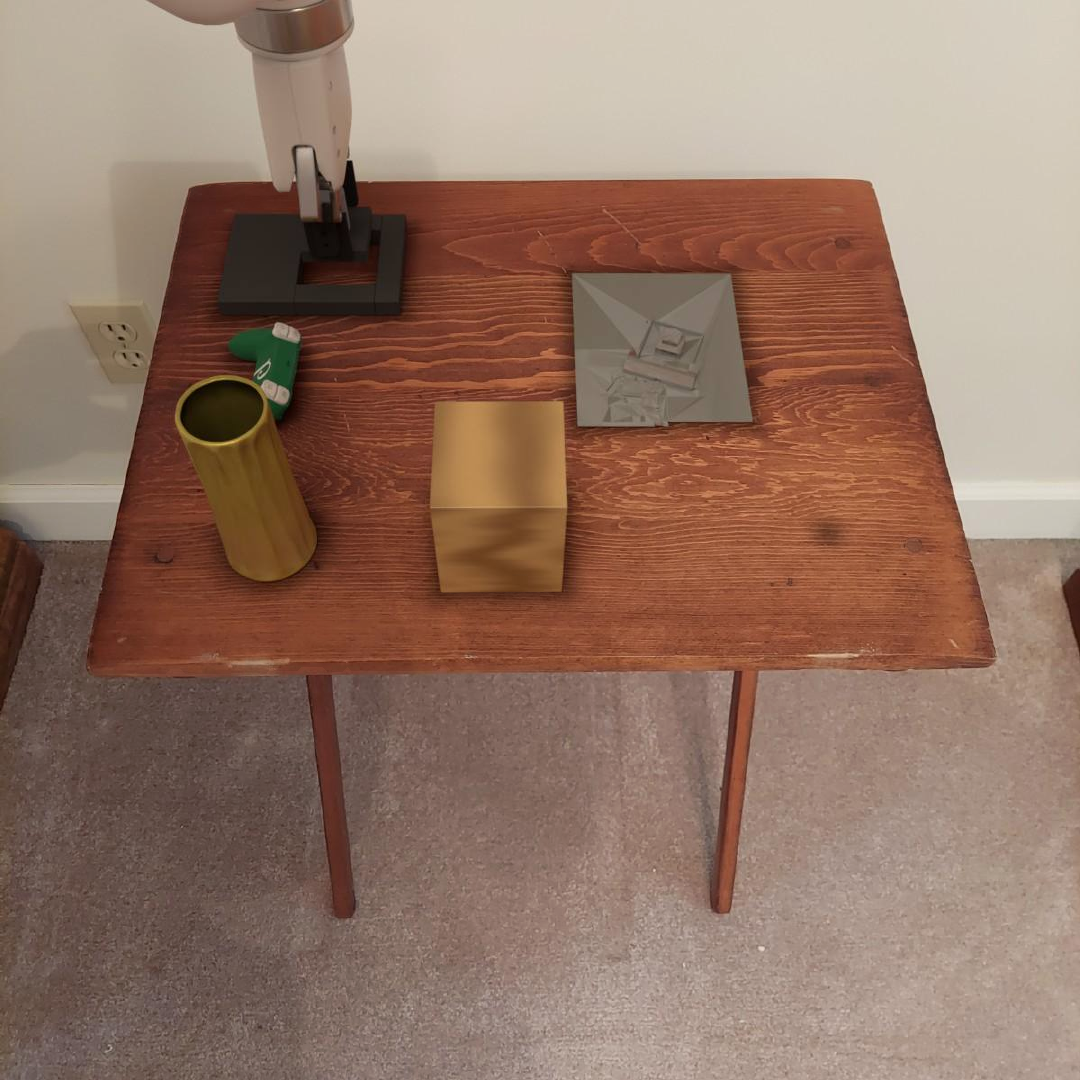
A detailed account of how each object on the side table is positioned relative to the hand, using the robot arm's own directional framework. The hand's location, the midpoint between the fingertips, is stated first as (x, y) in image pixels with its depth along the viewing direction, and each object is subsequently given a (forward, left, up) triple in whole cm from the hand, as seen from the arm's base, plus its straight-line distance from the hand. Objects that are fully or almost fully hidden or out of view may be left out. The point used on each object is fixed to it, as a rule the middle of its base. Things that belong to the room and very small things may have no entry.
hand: (335, 227), depth 82 cm
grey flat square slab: (+27, -13, -5) cm, 30 cm away
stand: (+13, -26, -4) cm, 29 cm away
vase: (-3, -26, -5) cm, 27 cm away
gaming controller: (-5, -13, -5) cm, 15 cm away
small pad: (0, 0, -1) cm, 1 cm away
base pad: (-2, 0, -4) cm, 5 cm away
